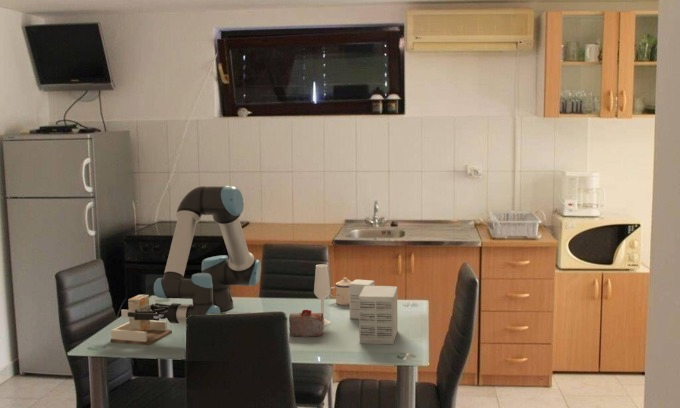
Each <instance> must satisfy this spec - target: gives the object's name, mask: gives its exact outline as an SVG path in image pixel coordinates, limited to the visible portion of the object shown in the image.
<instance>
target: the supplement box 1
mask: <svg viewBox="0 0 680 408" xmlns="http://www.w3.org/2000/svg"><path fill="white" fill-rule="evenodd" d="M127 304H128V310H137V311H150V310H149V304H150V295H149V294H137V295H135V296H133V297H131V298H128V303H127ZM128 319H129V320H128V322H129V323H130V331H144V330H145V329H147V328H149V327H150V320H134V318H130V317H128Z"/></svg>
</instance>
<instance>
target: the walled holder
mask: <svg viewBox="0 0 680 408" xmlns="http://www.w3.org/2000/svg"><path fill="white" fill-rule="evenodd" d="M110 331H111V332H110V334H111V339H110V342H111V343H120V344H121V343H122V344H133V345H134V344H135V345H145V346H150V345H152V344H155V343H156V342H158V341H159V340H161V339H163V338H165V337H167V336H169V335H171V334H172V333H173V331H172V330H171V329H168V323H167V321H161V320H158V321H156V320H150V327H149V328H147V329H145V330H144V331H130V323H129V321H127V322H126V323H123V324H121V325H118V326H117V327H115V328H113V329H111V330H110Z"/></svg>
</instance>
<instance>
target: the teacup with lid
mask: <svg viewBox="0 0 680 408" xmlns="http://www.w3.org/2000/svg"><path fill="white" fill-rule="evenodd" d="M351 282H353V281H351V280H350V279H348V277H342V279H341V280H339V281H337V282H336V283H335V285H334V286H330V294H329V296H330V297H331V298H334V299H335V302H336V305H341V306H349V284H350V283H351ZM332 289H333V290H334V289H335V295H333V294H332Z"/></svg>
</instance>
